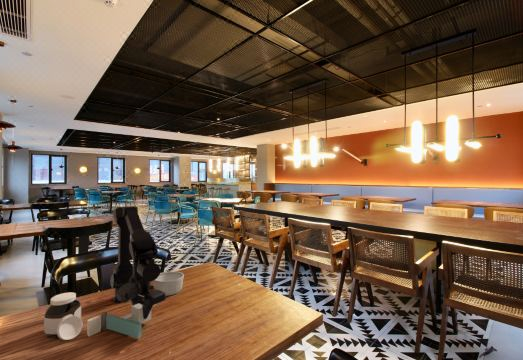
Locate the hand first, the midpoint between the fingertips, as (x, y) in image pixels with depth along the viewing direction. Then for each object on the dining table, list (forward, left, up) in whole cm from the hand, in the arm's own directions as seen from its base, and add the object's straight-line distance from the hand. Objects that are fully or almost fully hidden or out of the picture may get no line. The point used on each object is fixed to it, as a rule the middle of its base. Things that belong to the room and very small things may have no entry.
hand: (141, 316), depth 92 cm
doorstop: (0, 0, -1) cm, 1 cm away
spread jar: (-17, -16, -3) cm, 23 cm away
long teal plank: (0, -7, -2) cm, 7 cm away
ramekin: (-15, +24, -3) cm, 28 cm away
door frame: (-9, 0, -3) cm, 9 cm away
